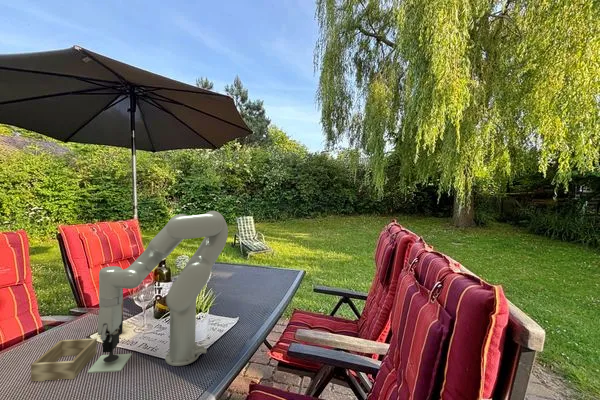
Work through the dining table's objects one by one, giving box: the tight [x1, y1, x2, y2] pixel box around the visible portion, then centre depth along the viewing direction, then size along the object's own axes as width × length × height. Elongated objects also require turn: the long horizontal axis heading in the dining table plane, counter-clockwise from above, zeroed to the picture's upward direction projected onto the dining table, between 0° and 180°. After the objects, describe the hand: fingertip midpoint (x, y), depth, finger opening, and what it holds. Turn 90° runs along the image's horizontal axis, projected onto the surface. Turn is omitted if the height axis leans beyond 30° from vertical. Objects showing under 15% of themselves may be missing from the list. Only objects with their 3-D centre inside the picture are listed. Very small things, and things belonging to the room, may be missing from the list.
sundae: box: [103, 328, 121, 362], centre depth 119 cm, size 7×7×15 cm
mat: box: [87, 353, 133, 374], centre depth 119 cm, size 11×11×1 cm
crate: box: [30, 337, 98, 382], centre depth 116 cm, size 13×17×6 cm
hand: (111, 347), depth 119 cm, fingers closed on sundae, 5 cm apart
